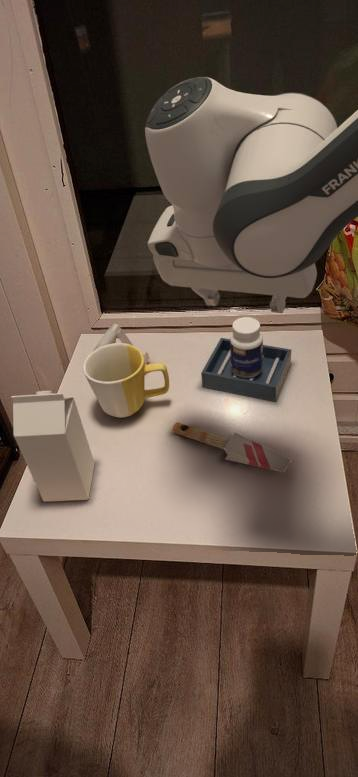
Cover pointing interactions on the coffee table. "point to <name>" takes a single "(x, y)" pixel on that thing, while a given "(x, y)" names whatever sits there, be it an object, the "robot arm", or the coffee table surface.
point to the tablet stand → (111, 337)
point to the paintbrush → (238, 448)
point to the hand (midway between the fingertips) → (245, 305)
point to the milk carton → (53, 445)
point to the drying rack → (259, 386)
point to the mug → (121, 378)
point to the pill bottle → (246, 347)
